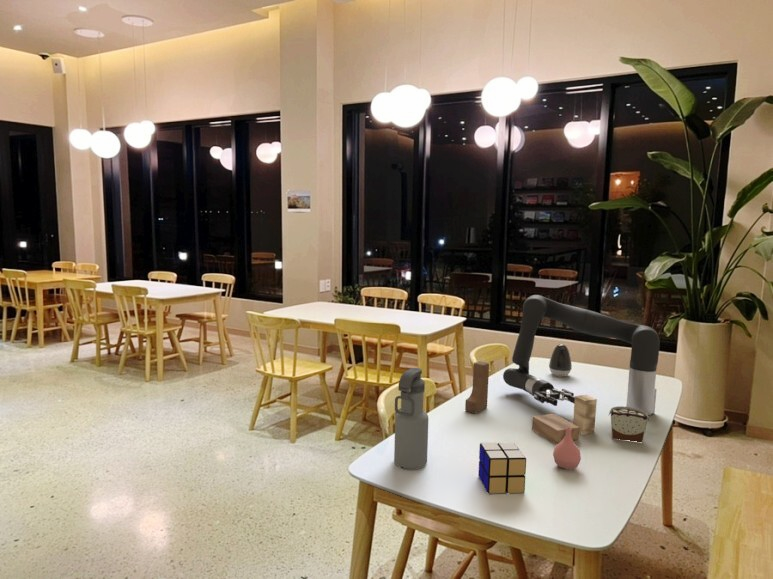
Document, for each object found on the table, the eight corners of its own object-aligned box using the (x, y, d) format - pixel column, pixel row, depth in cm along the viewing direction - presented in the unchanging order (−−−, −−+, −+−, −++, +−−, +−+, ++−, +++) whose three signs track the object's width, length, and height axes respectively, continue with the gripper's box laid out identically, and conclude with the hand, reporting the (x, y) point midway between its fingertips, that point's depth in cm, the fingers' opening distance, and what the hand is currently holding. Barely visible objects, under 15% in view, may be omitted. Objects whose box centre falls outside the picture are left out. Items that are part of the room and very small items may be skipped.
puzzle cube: (477, 476, 144) (479, 442, 143) (512, 475, 145) (514, 441, 144) (487, 494, 134) (489, 458, 133) (524, 493, 135) (527, 457, 134)
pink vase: (558, 459, 156) (560, 421, 154) (583, 466, 151) (586, 428, 149) (548, 468, 150) (550, 428, 148) (574, 476, 145) (577, 436, 143)
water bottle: (416, 474, 144) (419, 378, 141) (387, 465, 149) (389, 372, 146) (432, 460, 153) (435, 369, 149) (404, 452, 158) (406, 364, 154)
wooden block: (474, 414, 191) (476, 367, 189) (464, 411, 194) (466, 365, 192) (487, 408, 198) (489, 363, 196) (477, 405, 201) (479, 360, 199)
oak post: (584, 427, 181) (586, 394, 179) (594, 432, 176) (596, 399, 175) (572, 428, 179) (574, 395, 178) (582, 434, 175) (584, 400, 173)
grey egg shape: (550, 377, 241) (552, 346, 239) (547, 371, 251) (549, 341, 249) (572, 379, 239) (575, 347, 237) (568, 372, 249) (570, 342, 247)
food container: (644, 437, 173) (647, 408, 172) (647, 444, 168) (650, 414, 166) (605, 431, 177) (607, 403, 176) (606, 438, 172) (609, 409, 170)
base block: (552, 427, 181) (553, 413, 181) (578, 441, 169) (579, 427, 169) (531, 430, 178) (532, 416, 178) (556, 445, 166) (557, 430, 166)
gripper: (524, 380, 198) (550, 394, 183) (555, 377, 203) (583, 390, 188) (523, 399, 199) (549, 414, 184) (554, 396, 204) (581, 410, 189)
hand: (566, 402), depth 186 cm, fingers open, 8 cm apart
